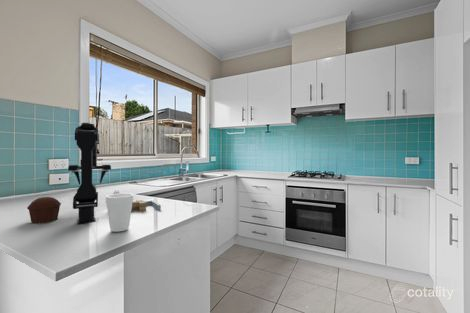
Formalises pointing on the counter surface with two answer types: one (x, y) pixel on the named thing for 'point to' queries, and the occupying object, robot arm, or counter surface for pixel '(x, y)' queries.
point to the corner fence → (153, 204)
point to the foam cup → (119, 211)
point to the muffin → (44, 210)
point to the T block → (139, 205)
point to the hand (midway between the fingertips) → (90, 183)
